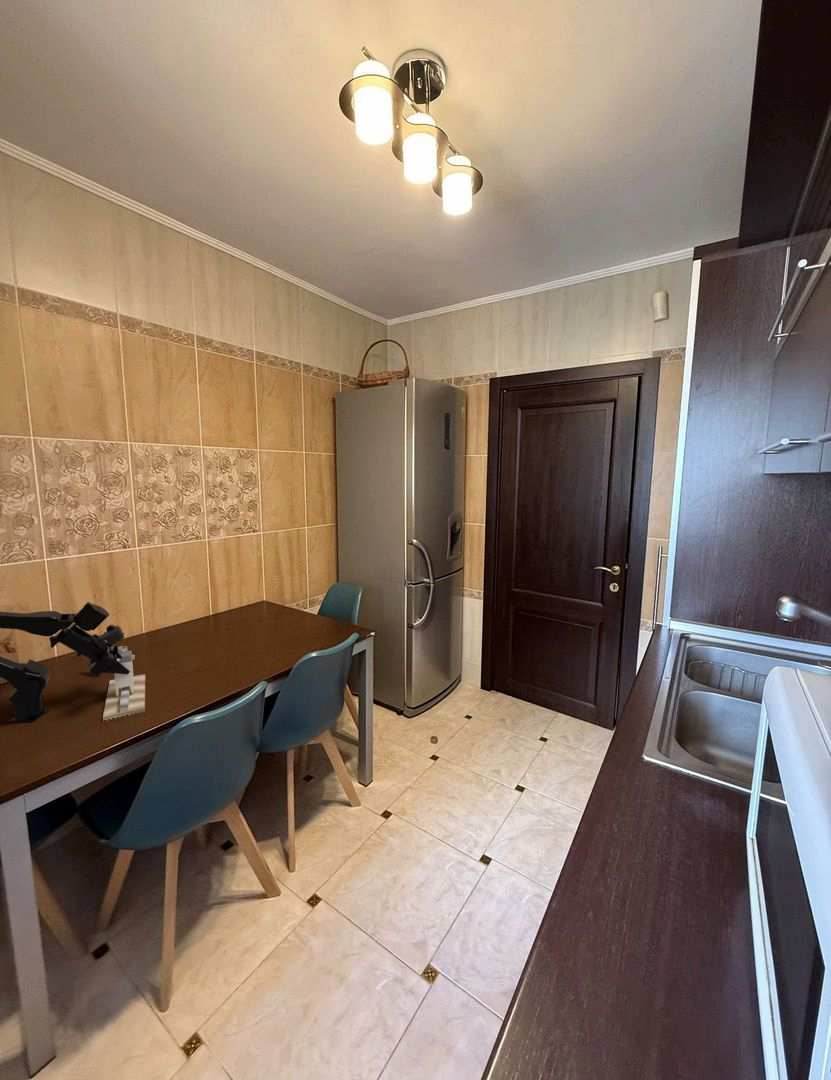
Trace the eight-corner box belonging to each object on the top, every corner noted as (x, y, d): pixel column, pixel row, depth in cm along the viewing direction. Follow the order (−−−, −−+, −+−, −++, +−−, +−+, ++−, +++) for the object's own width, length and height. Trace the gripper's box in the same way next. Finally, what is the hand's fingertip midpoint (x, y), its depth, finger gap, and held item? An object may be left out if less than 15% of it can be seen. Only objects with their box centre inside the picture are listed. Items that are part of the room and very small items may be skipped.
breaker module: (136, 691, 136) (134, 654, 135) (116, 695, 134) (113, 658, 132) (137, 685, 140) (134, 649, 139) (117, 689, 138) (114, 652, 136)
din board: (144, 711, 129) (144, 702, 128) (103, 721, 124) (102, 711, 123) (145, 676, 151) (144, 668, 150) (110, 683, 146) (109, 675, 145)
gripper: (101, 630, 124) (149, 659, 131) (106, 612, 139) (149, 639, 147) (68, 662, 121) (119, 690, 128) (77, 640, 136) (122, 666, 144)
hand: (129, 669), depth 137 cm, fingers closed on breaker module, 4 cm apart
